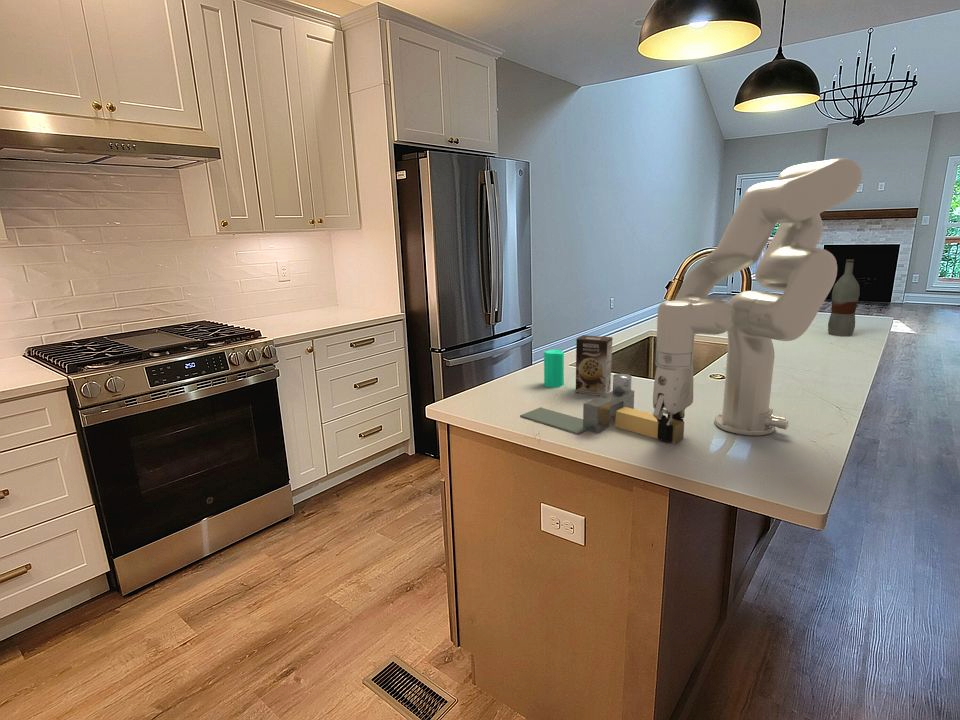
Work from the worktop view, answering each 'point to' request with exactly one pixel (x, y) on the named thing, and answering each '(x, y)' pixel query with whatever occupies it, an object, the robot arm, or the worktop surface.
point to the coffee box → (593, 364)
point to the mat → (556, 420)
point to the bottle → (844, 303)
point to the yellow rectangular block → (645, 423)
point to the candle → (553, 368)
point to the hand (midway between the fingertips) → (670, 436)
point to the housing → (608, 404)
